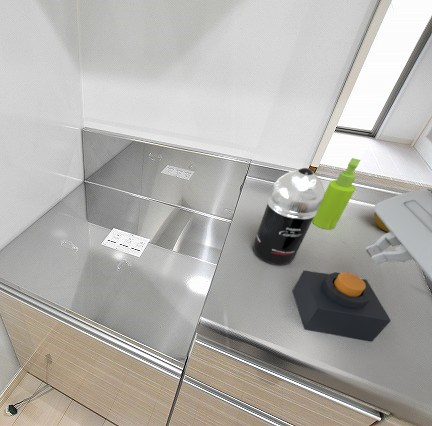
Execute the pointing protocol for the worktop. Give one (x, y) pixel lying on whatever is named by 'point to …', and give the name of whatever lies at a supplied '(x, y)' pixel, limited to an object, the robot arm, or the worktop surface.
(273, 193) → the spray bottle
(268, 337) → the worktop surface
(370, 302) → the button base
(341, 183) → the soap dispenser
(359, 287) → the orange disc
